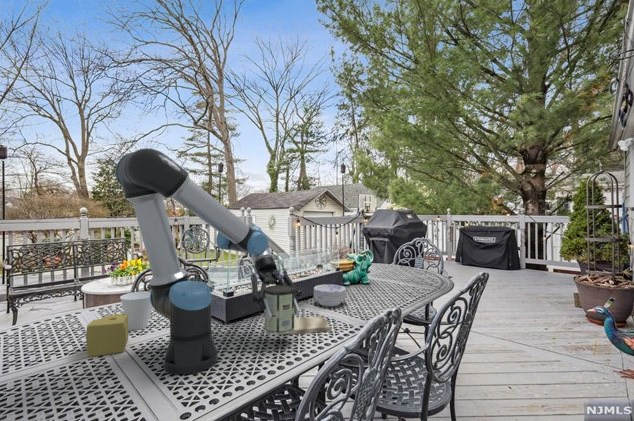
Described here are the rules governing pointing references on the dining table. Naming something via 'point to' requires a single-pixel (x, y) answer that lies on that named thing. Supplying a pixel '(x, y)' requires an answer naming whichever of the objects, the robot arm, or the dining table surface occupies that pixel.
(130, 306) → the cup
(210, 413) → the dining table surface
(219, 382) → the dining table surface
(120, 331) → the cheese
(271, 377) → the dining table surface
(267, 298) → the coffee can
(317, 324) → the plain beige board
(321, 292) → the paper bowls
